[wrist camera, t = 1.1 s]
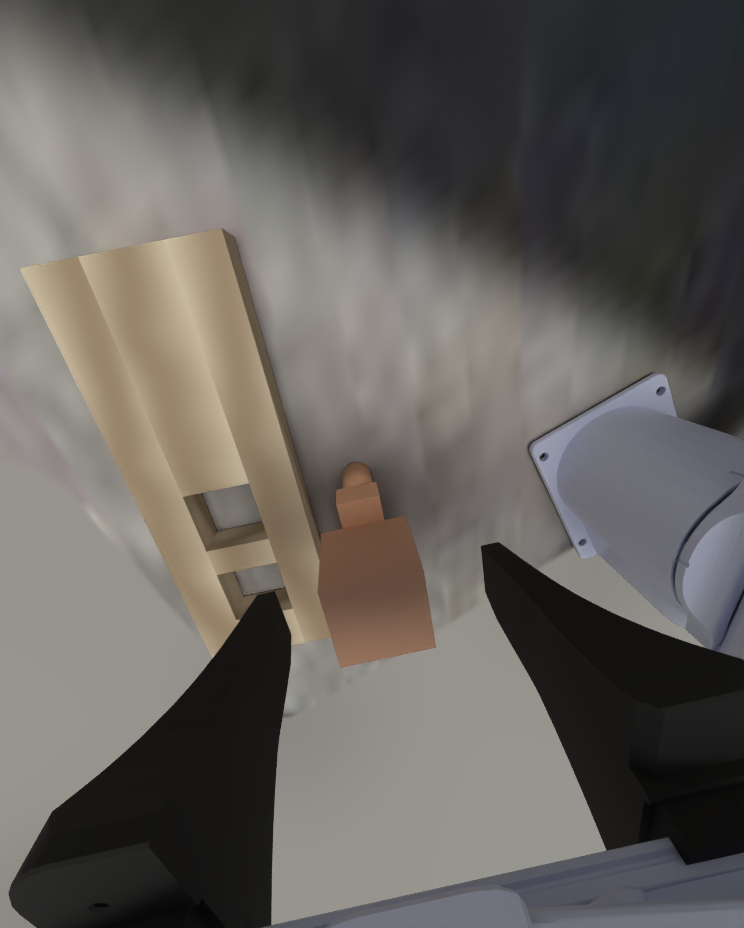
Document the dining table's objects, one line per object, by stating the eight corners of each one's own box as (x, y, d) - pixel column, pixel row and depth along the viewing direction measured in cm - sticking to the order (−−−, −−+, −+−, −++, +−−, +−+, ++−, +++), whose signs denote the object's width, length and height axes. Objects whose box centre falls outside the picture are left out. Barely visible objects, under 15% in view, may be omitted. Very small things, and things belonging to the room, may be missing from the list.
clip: (388, 455, 21) (419, 541, 13) (405, 550, 24) (439, 669, 16) (318, 469, 21) (308, 564, 13) (343, 563, 24) (347, 688, 16)
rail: (234, 236, 17) (221, 228, 15) (340, 611, 25) (341, 634, 23) (54, 272, 17) (19, 268, 15) (223, 635, 25) (214, 661, 23)
